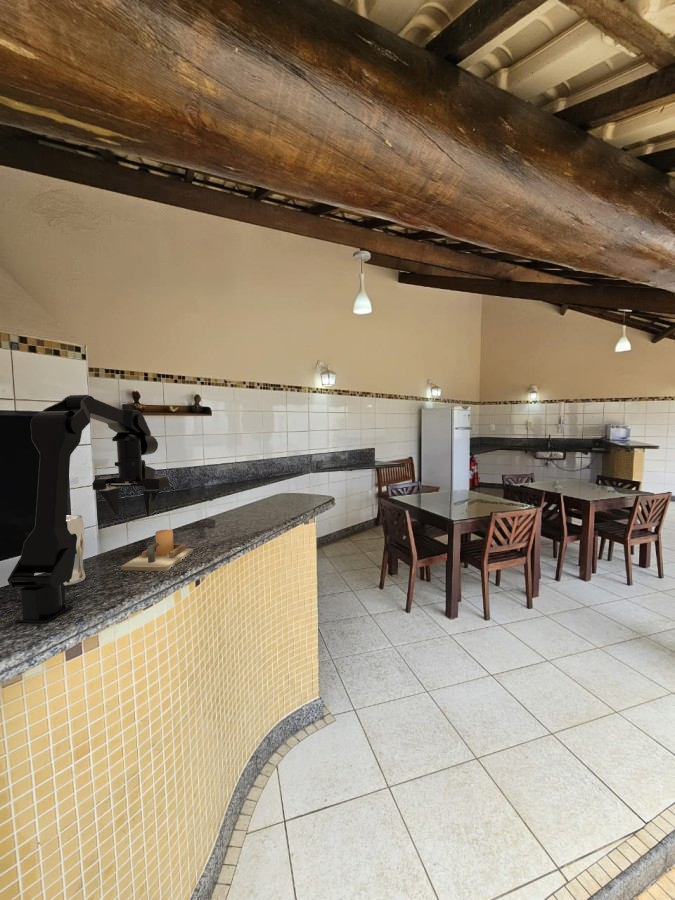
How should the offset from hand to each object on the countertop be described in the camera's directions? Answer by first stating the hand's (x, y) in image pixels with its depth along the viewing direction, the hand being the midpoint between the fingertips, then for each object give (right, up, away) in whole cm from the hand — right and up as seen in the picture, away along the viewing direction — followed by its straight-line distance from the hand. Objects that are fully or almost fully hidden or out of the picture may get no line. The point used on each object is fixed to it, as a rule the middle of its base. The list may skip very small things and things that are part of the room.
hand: (133, 514), depth 107 cm
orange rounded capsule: (+8, -11, +1) cm, 14 cm away
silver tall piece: (-7, -13, -14) cm, 21 cm away
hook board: (+8, -12, -2) cm, 15 cm away
